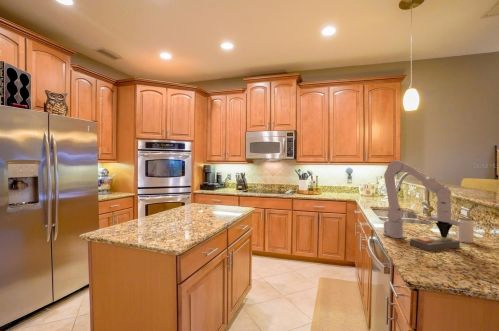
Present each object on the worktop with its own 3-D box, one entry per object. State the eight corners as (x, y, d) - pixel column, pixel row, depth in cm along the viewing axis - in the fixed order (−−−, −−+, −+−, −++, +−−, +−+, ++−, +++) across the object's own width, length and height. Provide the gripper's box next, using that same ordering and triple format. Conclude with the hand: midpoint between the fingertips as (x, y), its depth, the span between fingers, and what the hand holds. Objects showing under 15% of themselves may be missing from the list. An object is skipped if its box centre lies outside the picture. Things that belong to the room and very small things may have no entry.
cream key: (426, 240, 126) (426, 237, 126) (433, 239, 127) (433, 236, 127) (435, 243, 122) (435, 239, 122) (442, 242, 123) (442, 238, 123)
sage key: (436, 239, 128) (436, 236, 128) (442, 238, 129) (442, 235, 129) (445, 242, 124) (445, 238, 124) (451, 241, 125) (451, 237, 125)
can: (476, 243, 128) (476, 220, 128) (462, 243, 129) (462, 220, 129) (468, 240, 134) (468, 218, 134) (454, 239, 135) (454, 217, 135)
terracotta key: (417, 241, 125) (417, 238, 125) (423, 241, 126) (423, 237, 126) (425, 244, 120) (425, 240, 120) (432, 243, 122) (432, 240, 122)
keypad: (410, 244, 127) (410, 238, 127) (439, 241, 132) (439, 235, 132) (428, 251, 117) (428, 244, 117) (459, 247, 123) (459, 241, 123)
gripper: (465, 212, 120) (465, 240, 120) (435, 207, 134) (436, 232, 134) (454, 213, 119) (454, 241, 119) (425, 208, 133) (426, 233, 133)
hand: (444, 236), depth 126 cm, fingers closed
